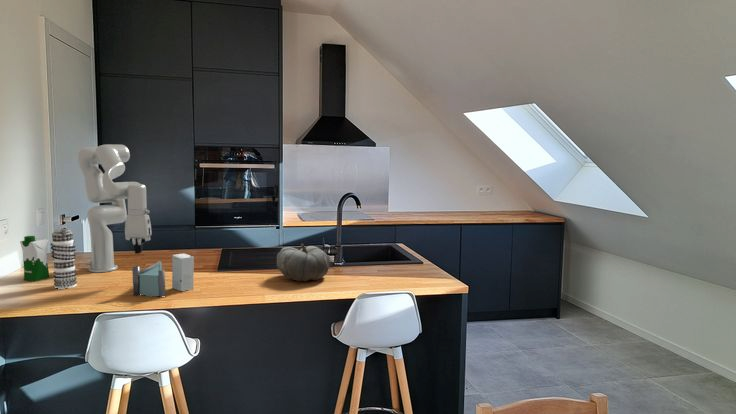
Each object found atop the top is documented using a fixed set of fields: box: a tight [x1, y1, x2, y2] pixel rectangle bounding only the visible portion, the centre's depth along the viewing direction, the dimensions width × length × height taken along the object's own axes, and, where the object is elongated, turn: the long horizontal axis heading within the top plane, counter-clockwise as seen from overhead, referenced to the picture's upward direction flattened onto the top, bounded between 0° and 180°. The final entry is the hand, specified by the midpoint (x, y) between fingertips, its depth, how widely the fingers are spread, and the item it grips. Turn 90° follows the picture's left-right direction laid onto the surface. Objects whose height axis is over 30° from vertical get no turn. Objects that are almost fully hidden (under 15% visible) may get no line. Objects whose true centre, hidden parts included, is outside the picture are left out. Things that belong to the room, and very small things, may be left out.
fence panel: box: [140, 269, 166, 298], centre depth 209 cm, size 11×2×11 cm, turn 81°
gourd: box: [276, 243, 331, 282], centre depth 240 cm, size 25×25×17 cm
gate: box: [140, 261, 163, 275], centre depth 221 cm, size 18×2×8 cm, turn 175°
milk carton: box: [19, 235, 51, 282], centre depth 231 cm, size 9×9×20 cm
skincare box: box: [171, 252, 195, 292], centre depth 220 cm, size 8×6×15 cm
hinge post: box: [131, 265, 141, 296], centre depth 210 cm, size 3×3×12 cm
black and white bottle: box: [49, 228, 78, 290], centre depth 220 cm, size 9×9×25 cm
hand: (138, 252), depth 226 cm, fingers closed
